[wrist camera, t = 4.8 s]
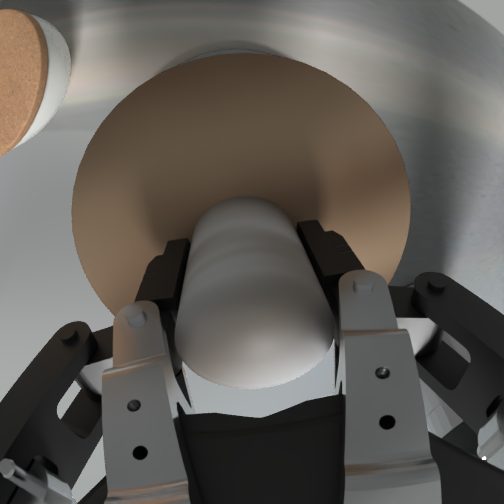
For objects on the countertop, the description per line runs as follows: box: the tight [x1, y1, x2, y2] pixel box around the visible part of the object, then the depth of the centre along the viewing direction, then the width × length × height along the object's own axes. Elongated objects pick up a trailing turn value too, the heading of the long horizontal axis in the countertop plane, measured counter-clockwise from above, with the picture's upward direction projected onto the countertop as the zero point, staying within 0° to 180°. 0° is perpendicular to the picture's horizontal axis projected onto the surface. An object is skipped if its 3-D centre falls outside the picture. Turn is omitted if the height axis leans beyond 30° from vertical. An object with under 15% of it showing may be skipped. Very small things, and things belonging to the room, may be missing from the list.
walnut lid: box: [72, 53, 411, 389], centre depth 10 cm, size 14×14×6 cm
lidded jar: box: [0, 8, 71, 156], centre depth 13 cm, size 11×11×9 cm
